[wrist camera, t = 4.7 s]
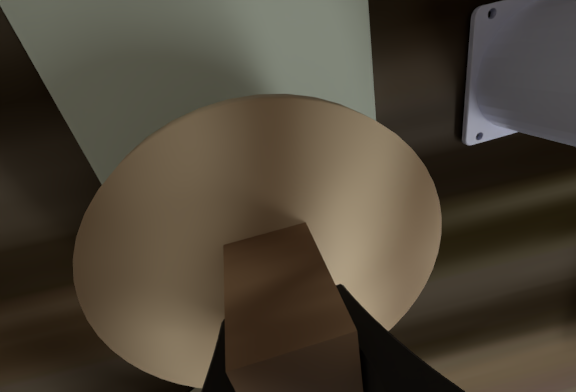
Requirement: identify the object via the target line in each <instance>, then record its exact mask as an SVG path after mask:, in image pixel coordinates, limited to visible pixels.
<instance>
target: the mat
mask: <svg viewBox="0 0 576 392" xmlns="http://www.w3.org/2000/svg"><path fill="white" fill-rule="evenodd" d="M0 6H1V8H2V10H3V11H4V13H5V15H6V17H7V19H8V20H9V22H10V24H11V26H12V27H13V29H14V31H15V33H16V34H17V36H18V38H19V40H20V41H21V43H22V45H23V47H24V49H25V50H26V52H27V54H28V56H29V57H30V59H31V61H32V63H33V64H34V66H35V68H36V70H37V71H38V73H39V75H40V77H41V79H42V80H43V82H44V84H45V86H46V87H47V89H48V91H49V93H50V94H51V96H52V98H53V100H54V101H55V103H56V105H57V107H58V108H59V110H60V112H61V114H62V116H63V117H64V119H65V121H66V123H67V124H68V126H69V128H70V130H71V131H72V133H73V135H74V137H75V138H76V140H77V142H78V144H79V146H80V147H81V149H82V151H83V153H84V154H85V156H86V158H87V160H88V161H89V163H90V165H91V167H92V168H93V170H94V172H95V174H96V176H97V177H98V179H99V181H100V183H101V184H103V183H104V182H105V181H106V179H107V178H108V177H109V176H110V175H111V173H112V172H113V171H114V170H115V168H116V167H117V166H118V165H119V164H120V162H121V161H122V160H123V159H124V158H125V156H126V155H127V154H128V153H129V152H131V151H132V150H133V149H134V148H135V147H136V146H137V145H139V144H140V143H141V142H142V141H143V140H144V139H145V138H146V137H148V136H149V135H151V134H152V133H154V132H155V131H157V130H158V129H160V128H161V127H163V126H164V125H166V124H168V123H169V122H171V121H172V120H174V119H177V118H179V117H181V116H183V115H185V114H187V113H189V112H192V111H194V110H196V109H198V108H201V107H204V106H207V105H210V104H214V103H217V102H220V101H224V100H227V99H232V98H238V97H244V96H251V95H257V94H294V95H302V96H310V97H316V98H320V99H324V100H327V101H331V102H335V103H338V104H341V105H343V106H346V107H348V108H350V109H353V110H355V111H357V112H359V113H362V114H364V115H366V116H367V117H369V118H371V119H373V120H375V121H376V114H375V98H374V83H373V68H372V53H371V38H370V23H369V7H368V0H0Z"/></svg>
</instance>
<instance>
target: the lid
mask: <svg viewBox="0 0 576 392" xmlns="http://www.w3.org/2000/svg"><path fill="white" fill-rule="evenodd" d="M441 220H442V218H441V210H440V203H439V198H438V195H437V192H436V188H435V185H434V182H433V180H432V178H431V176H430V175H429V173H428V171H427V169H426V167H425V165H424V164H423V162H422V161H421V160H420V158H419V157H418V156H417V155H416V153H415V152H414V151H413V149H412V148H411V147H410V146H409V145H407V144H406V143H405V142H404V141H403V140H402V139H401V138H400V137H399V136H398V135H397V134H395V133H394V132H392V131H391V130H389V129H388V128H386V127H385V126H383V125H381V124H380V123H378V122H377V121H375V120H373V119H371V118H369V117H367V116H366V115H364V114H362V113H359V112H357V111H355V110H353V109H350V108H348V107H346V106H343V105H341V104H338V103H335V102H331V101H327V100H324V99H320V98H316V97H310V96H302V95H294V94H257V95H251V96H244V97H238V98H232V99H227V100H224V101H220V102H217V103H214V104H210V105H207V106H204V107H201V108H198V109H196V110H194V111H192V112H189V113H187V114H185V115H183V116H181V117H179V118H177V119H174V120H172V121H171V122H169V123H168V124H166V125H164V126H163V127H161V128H160V129H158V130H157V131H155V132H154V133H152V134H151V135H149V136H148V137H146V138H145V139H144V140H143V141H142V142H141V143H140V144H139V145H137V146H136V147H135V148H134V149H133V150H132V151H131V152H129V153H128V154H127V155H126V156H125V158H124V159H123V160H122V161H121V162H120V164H119V165H118V166H117V167H116V168H115V170H114V171H113V172H112V173H111V175H110V176H109V177H108V178H107V179H106V181H105V182H104V183H103V184H102V186H101V187H100V188H99V189H98V191H97V193H96V194H95V196H94V198H93V200H92V201H91V203H90V205H89V207H88V208H87V210H86V212H85V214H84V217H83V219H82V222H81V225H80V228H79V231H78V233H77V236H76V242H75V249H74V255H73V275H74V284H75V288H76V293H77V297H78V301H79V303H80V306H81V308H82V310H83V312H84V314H85V316H86V319H87V321H88V322H89V323H90V325H91V326H92V328H93V329H94V331H95V332H96V333H97V335H98V336H99V337H100V338H101V339H102V340H103V341H104V342H105V344H106V345H107V346H108V347H109V348H110V349H111V350H112V351H114V352H115V353H116V354H118V355H119V356H120V357H122V358H123V359H124V360H125V361H127V362H128V363H130V364H132V365H134V366H135V367H137V368H139V369H141V370H142V371H144V372H147V373H149V374H151V375H154V376H156V377H158V378H161V379H164V380H167V381H170V382H173V383H177V384H181V385H186V386H190V387H195V388H202V387H203V384H204V381H205V378H206V375H207V372H208V369H209V366H210V363H211V360H212V357H213V353H214V350H215V346H216V343H217V339H218V335H219V331H220V327H221V322H222V321H223V320H224V319H225V366H226V374H227V376H228V378H229V380H230V382H231V384H232V385H233V387H234V389H235V391H236V392H363V384H362V374H361V364H360V354H359V344H358V334H357V329H356V327H355V325H354V323H353V321H352V319H351V317H350V314H349V312H348V310H347V308H346V306H345V304H344V302H343V300H342V298H341V295H340V293H339V291H338V289H337V287H336V285H339V284H342V285H344V286H345V288H346V289H347V290H348V291H349V292H350V294H351V295H352V296H353V297H354V298H355V299H356V300H357V301H358V302H359V303H360V304H361V306H362V307H363V308H364V309H365V310H366V311H367V312H368V313H369V314H370V315H371V316H372V317H373V318H374V319H375V320H377V321H378V322H379V323H380V324H381V325H382V326H383V327H384V328H385V329H386V330H387V331H389V330H390V329H391V328H392V327H393V326H394V325H395V324H396V323H397V322H398V321H399V320H400V319H401V318H402V317H403V316H404V315H405V313H406V312H407V311H408V310H409V308H410V307H411V306H412V304H413V303H414V302H415V301H416V299H417V298H418V296H419V294H420V293H421V291H422V289H423V288H424V286H425V285H426V283H427V280H428V278H429V276H430V274H431V272H432V270H433V267H434V264H435V261H436V257H437V254H438V250H439V244H440V239H441Z"/></svg>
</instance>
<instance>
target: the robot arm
mask: <svg viewBox="0 0 576 392" xmlns="http://www.w3.org/2000/svg"><path fill="white" fill-rule="evenodd" d="M489 11H490V12H491V14H490V17H489V18H488V12H489ZM516 132H521V133H525V134H529V135H533V136H537V137H541V138H545V139H548V140H552V141H556V142H560V143H564V144H568V145H572V146H576V0H503V1H498V2H494V3H490V4H486V5H482V6H479V7H477V8H476V9H475V10H474V11H473V13H472V15H471V22H470V36H469V49H468V63H467V76H466V89H465V103H464V116H463V130H462V142H463V143H464V144H466V145H474V144H477V143H481V142H484V141H488V140H492V139H495V138H499V137H502V136H506V135H509V134H513V133H516ZM477 134H478V136H477V137H476V135H477ZM336 287H337V289H338V291H339V293H340V295H341V298H342V300H343V302H344V304H345V306H346V308H347V310H348V312H349V314H350V317H351V319H352V321H353V323H354V325H355V327H356V329H357V334H358V344H359V354H360V364H361V374H362V384H363V392H465V391H464V390H462V389H461V388H459V387H458V386H456V385H455V384H454V383H452V382H451V381H449V380H448V379H447V378H445V377H444V376H442V375H441V374H440V373H438V372H437V371H436V370H434V369H433V368H432V367H430V366H429V365H428V364H427V363H425V362H424V361H423V360H421V359H420V358H419V357H418V356H416V355H415V354H414V353H413V352H412V351H410V350H409V349H408V348H407V347H406V346H404V345H403V344H402V343H401V342H400V341H398V340H397V339H396V338H395V337H394V336H393V335H392V334H391V333H389V332H388V331H387V330H386V329H385V328H384V327H383V326H382V325H381V324H380V323H379V322H378V321H377V320H375V319H374V318H373V317H372V316H371V315H370V314H369V313H368V312H367V311H366V310H365V309H364V308H363V307H362V306H361V304H360V303H359V302H358V301H357V300H356V299H355V298H354V297H353V296H352V295H351V294H350V292H349V291H348V290H347V289H346V288H345V286H344V285H342V284H339V285H336ZM201 392H236V391H235V389H234V387H233V385H232V384H231V382H230V380H229V378H228V376H227V374H226V366H225V319H224V320H223V321H222V322H221V327H220V331H219V335H218V339H217V343H216V346H215V350H214V353H213V357H212V360H211V363H210V366H209V369H208V372H207V375H206V378H205V381H204V384H203V387H202V390H201Z"/></svg>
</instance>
